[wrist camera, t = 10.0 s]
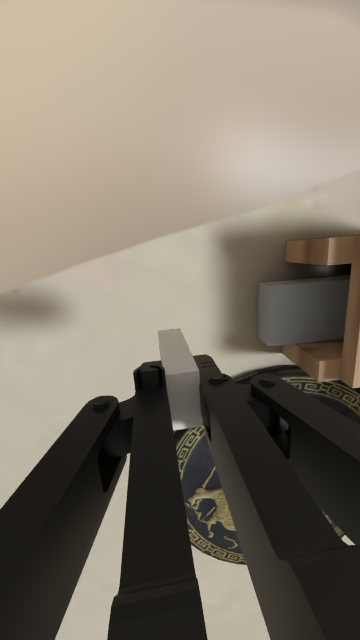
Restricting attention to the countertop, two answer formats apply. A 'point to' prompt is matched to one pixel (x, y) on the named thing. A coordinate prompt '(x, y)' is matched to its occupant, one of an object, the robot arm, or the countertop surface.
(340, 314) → the grey rectangular block
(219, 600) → the countertop surface
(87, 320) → the countertop surface
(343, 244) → the wooden u-bracket
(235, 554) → the decorative plate
